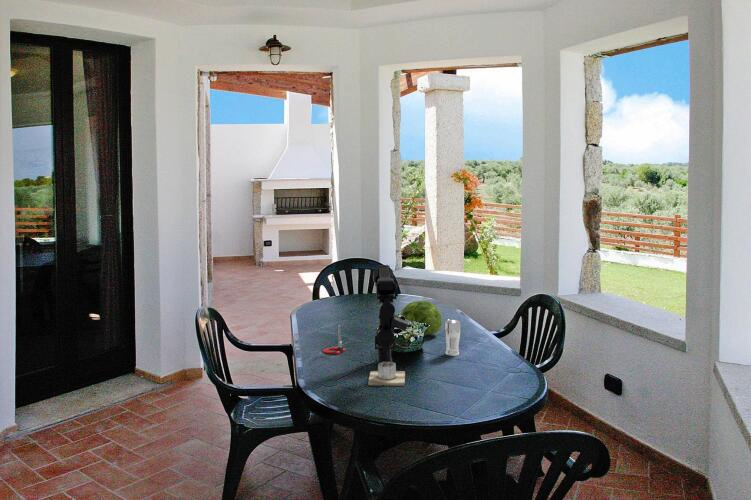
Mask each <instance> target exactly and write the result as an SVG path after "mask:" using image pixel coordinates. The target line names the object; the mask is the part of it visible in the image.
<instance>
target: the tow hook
mask: <svg viewBox="0 0 751 500" xmlns="http://www.w3.org/2000/svg"><path fill="white" fill-rule="evenodd" d="M337 327H338V328H337V335H338V336H337V338H338V339H337V340H338V341H337V342H338V345H337V346H338V347H335V346H334V347H328V348H325V349H323V353H324V354H329V355H333V354H334V355H339V354H342V353H344V352H346V350H347V349H346V348H344V347H343V344H342V343H343V341H342V333H341V325H340V324H339V325H337Z"/></svg>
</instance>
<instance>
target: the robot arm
mask: <svg viewBox="0 0 751 500" xmlns="http://www.w3.org/2000/svg"><path fill="white" fill-rule="evenodd" d="M372 273H373V275H372V277H373V278H372V279H373V283H374V286H375V294H376V295H375V296H376V300H378V327H377V329H376V331H375V335H374V339H373V340H374V350H377V358H376V365H378V364H379V363H381V362H393V358H392V350H395V349H396V347H397V346H396V345H397V343H396V341H397V339H396V337H395V329H399V330H401V331H403V332H406V329H407V326H408V321H407V320H405V317H404V316H401V317H400V318H399V317H397V316H395V314H396V313H395V312H396V307H395V304H394V300H397V298H398V296H399V291H398V285H397V283H396V282H395V281H394V280H395V279H394V270H393V269H392V268H391V267H390V265H389V264H380V265H377V268H375V269H374V270H373V272H372Z"/></svg>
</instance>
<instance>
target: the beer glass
mask: <svg viewBox="0 0 751 500" xmlns="http://www.w3.org/2000/svg"><path fill="white" fill-rule="evenodd" d="M444 338H445V342H446V343H445V344H446V348H445V349H446V350H445V355H446V356H451V357H457V356H459V355H460V350H459V349H460V348H459V345H460V344H459V343H460V339H461V321H460V320H458V319H446V320H445V321H444Z"/></svg>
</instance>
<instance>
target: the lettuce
mask: <svg viewBox="0 0 751 500" xmlns="http://www.w3.org/2000/svg"><path fill="white" fill-rule="evenodd" d="M399 315H402V316H404V317H405V319H407V320H411V321H416V322H419V323H426V324H429V325H430V326H429V328H427V329H426V330H425V332H424V336H428V335H429V336H430V335H434V334H437V333H438V332H439V330H441V328H442V325H443V317H442V314H441V312H440V310H439V308H437V306H436V305H434V304H433V302H431V301H426V300H414V301H413V302H410V303H408V304H406V305H405V307H404V308H403V309H402V310H401V312H400V314H399ZM424 336H423V337H424Z"/></svg>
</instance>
